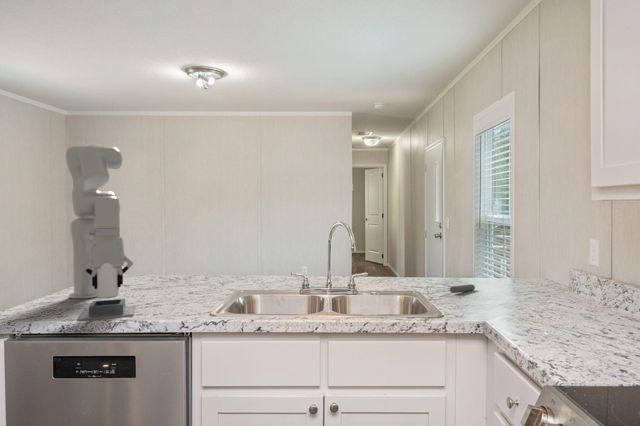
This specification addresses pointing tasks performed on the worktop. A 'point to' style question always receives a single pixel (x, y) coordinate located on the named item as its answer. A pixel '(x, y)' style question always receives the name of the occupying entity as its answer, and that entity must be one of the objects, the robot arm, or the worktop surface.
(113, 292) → the can
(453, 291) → the kitchen whisk
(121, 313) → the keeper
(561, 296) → the worktop surface
